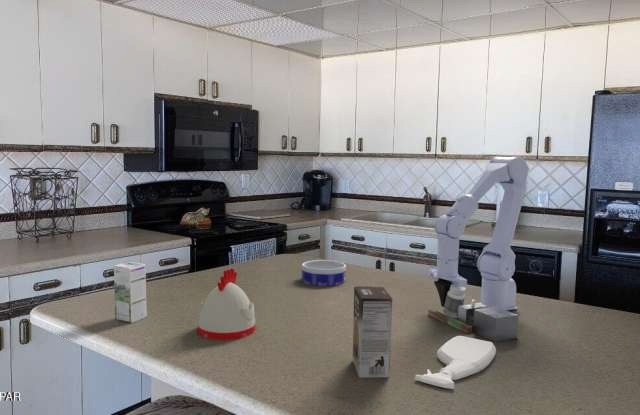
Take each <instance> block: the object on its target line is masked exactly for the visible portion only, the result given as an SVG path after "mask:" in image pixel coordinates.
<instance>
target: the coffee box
mask: <svg viewBox="0 0 640 415" xmlns="http://www.w3.org/2000/svg"><path fill="white" fill-rule="evenodd" d="M392 323H393V297H391V295H390V294H389V293H388V291H387V290H386V289H385V287H383V286H367V285H366V286H362V285H361V286H354V287H353V324H352V325H353V327H352V329H353V332H352V334H353V335H352V336H353V337H352V342H353V343H352V362H353V365H354V367H355V370H356V373H357V375H358V378H362V379H363V378H364V379H365V378H390V371H391V370H390V368H391V365H390V364H391V346H392V344H391V343H392Z"/></svg>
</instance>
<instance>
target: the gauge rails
mask: <svg viewBox="0 0 640 415" xmlns="http://www.w3.org/2000/svg"><path fill="white" fill-rule="evenodd" d="M427 310H428V311H427V313H428V316H429V317H432V318H434V319H436V320H438V321H440V322H442V323H445V324H447V325H448V326H451V327H454V328H455V329H457V330H459V331H462V332H464V333H466V334H470V333H472V332H473V327H472V326H470V325H467V324H465V323H463V322H461V321H458V319H457V318H452V317H449V316H447V315H445V314H444V312H443V313H442V312H441V311H438V310H436V309H433V308H432V309H427Z"/></svg>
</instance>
